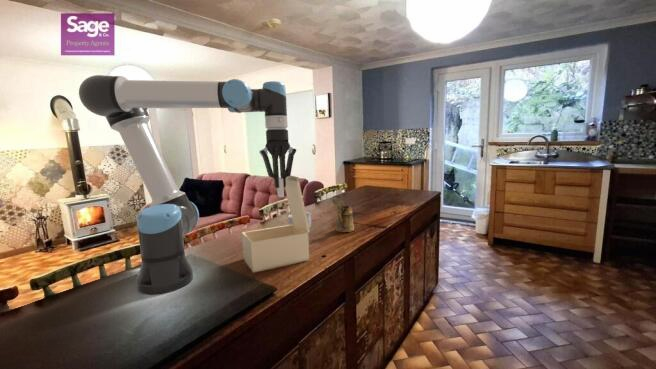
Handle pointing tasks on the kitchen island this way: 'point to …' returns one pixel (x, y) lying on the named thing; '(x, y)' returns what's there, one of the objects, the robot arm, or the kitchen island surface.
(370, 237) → the kitchen island surface
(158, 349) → the kitchen island surface
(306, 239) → the carton
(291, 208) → the lid
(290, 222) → the teacup
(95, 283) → the kitchen island surface
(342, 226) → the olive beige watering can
